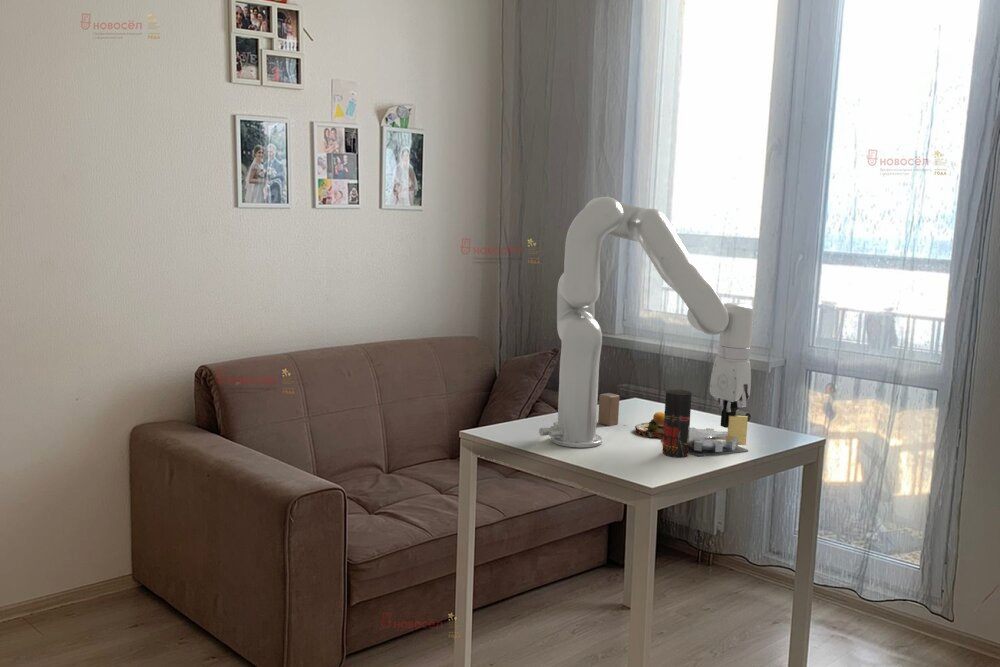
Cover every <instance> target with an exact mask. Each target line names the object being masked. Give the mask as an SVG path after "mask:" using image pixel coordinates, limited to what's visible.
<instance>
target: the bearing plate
mask: <svg viewBox="0 0 1000 667" xmlns="http://www.w3.org/2000/svg"><path fill="white" fill-rule="evenodd" d="M660 442H661V443H663V439H660ZM745 452H746V453H748V452H749V449H747V448H744V447H741V446H740V445H738V446H736V449H734V450H729V449H724V450H722V452H715V451H713V450H702V451H696V450H694V448H689V447H688V454H690V455H692V456H695V457H697V458H701V457H709V456H718V455H719V456H720V455H727V454H728V455H729V454H738V453H745Z"/></svg>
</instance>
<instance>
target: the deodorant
mask: <svg viewBox="0 0 1000 667" xmlns="http://www.w3.org/2000/svg"><path fill="white" fill-rule="evenodd" d="M692 394H693V392H691V391H688V390H684V389H668V390H665V401H664V412H665V416H664V434H663V439H662V440H663V442H662V452H661V453H662V455H663V456H664V457H668V458H673V459H674V458H675V459H685V458H687V457H688V456H689V453H688V445H689V428H691V426H690V425H691V413H692V412H691V410H692V409H691V408H692Z"/></svg>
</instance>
